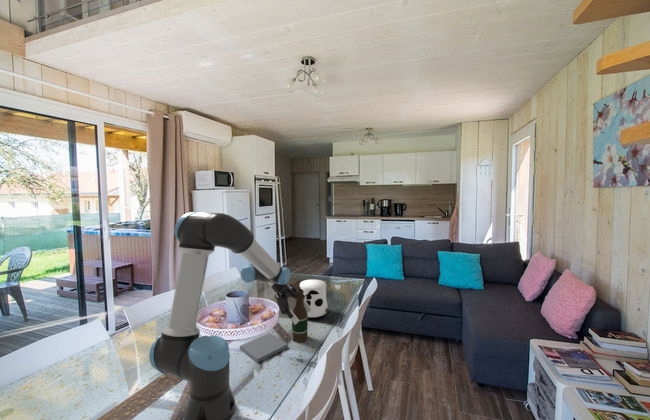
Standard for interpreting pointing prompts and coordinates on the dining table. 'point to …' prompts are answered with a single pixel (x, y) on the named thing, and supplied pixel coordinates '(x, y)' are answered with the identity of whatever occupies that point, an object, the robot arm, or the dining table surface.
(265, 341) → the slate board
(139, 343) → the dining table surface
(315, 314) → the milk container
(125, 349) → the dining table surface
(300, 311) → the beer bottle
